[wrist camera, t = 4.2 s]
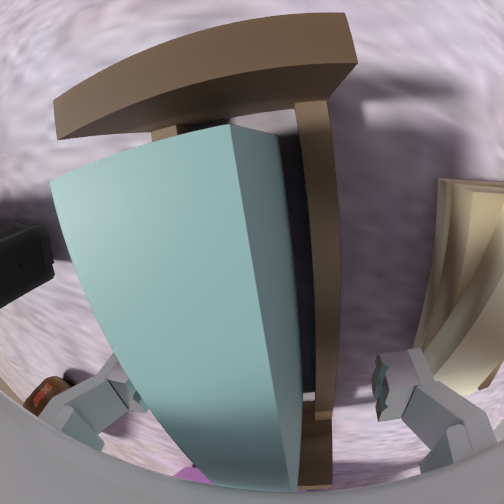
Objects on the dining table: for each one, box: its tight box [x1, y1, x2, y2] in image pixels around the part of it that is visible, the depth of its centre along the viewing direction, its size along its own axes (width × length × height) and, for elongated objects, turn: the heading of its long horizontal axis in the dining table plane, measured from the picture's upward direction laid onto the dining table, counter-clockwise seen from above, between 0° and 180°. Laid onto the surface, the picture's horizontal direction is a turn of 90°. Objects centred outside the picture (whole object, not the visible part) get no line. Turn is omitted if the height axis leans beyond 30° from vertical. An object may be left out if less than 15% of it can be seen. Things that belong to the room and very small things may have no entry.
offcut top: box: [423, 205, 504, 395], centre depth 8 cm, size 8×4×2 cm, turn 165°
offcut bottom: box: [412, 179, 504, 349], centre depth 10 cm, size 10×5×2 cm, turn 8°
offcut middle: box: [421, 184, 504, 353], centre depth 9 cm, size 9×5×2 cm, turn 6°
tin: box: [23, 376, 72, 417], centre depth 18 cm, size 15×3×8 cm, turn 157°
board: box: [49, 124, 303, 492], centre depth 9 cm, size 14×2×8 cm, turn 9°
